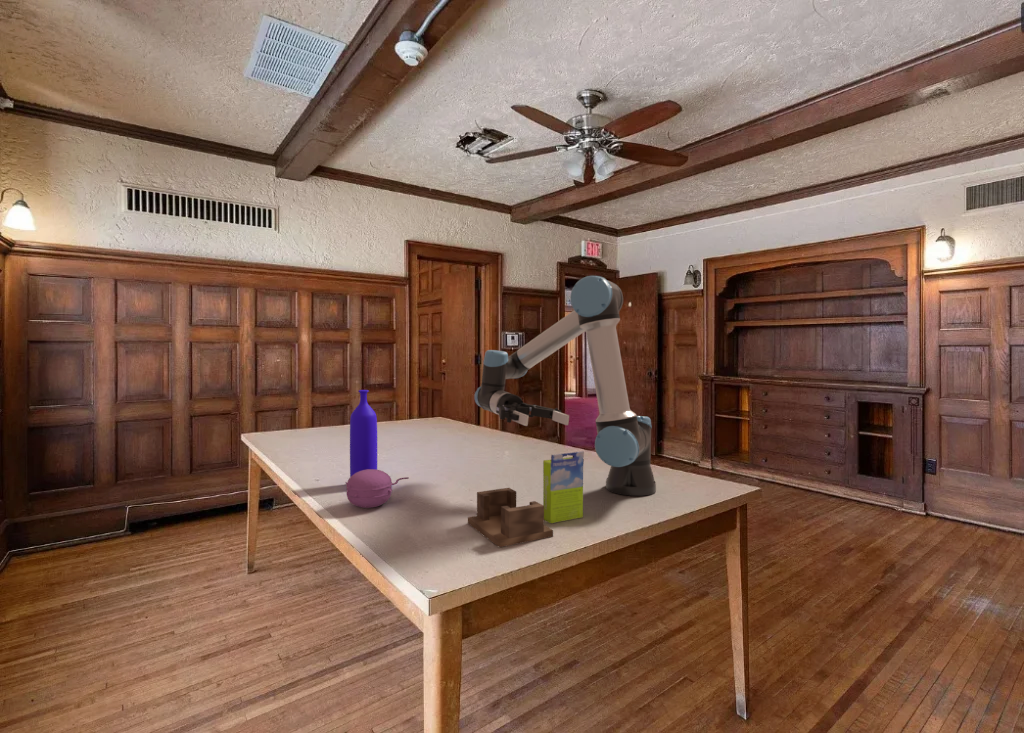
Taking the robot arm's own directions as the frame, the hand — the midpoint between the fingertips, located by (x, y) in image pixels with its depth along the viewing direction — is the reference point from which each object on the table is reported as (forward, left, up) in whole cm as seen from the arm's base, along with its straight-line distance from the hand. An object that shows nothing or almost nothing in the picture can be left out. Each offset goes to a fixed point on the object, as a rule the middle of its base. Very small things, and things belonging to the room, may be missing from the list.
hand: (548, 420), depth 136 cm
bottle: (+39, -46, -24) cm, 65 cm away
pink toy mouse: (+39, -24, -24) cm, 52 cm away
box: (+1, +9, -24) cm, 26 cm away
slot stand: (+17, +9, -24) cm, 31 cm away
